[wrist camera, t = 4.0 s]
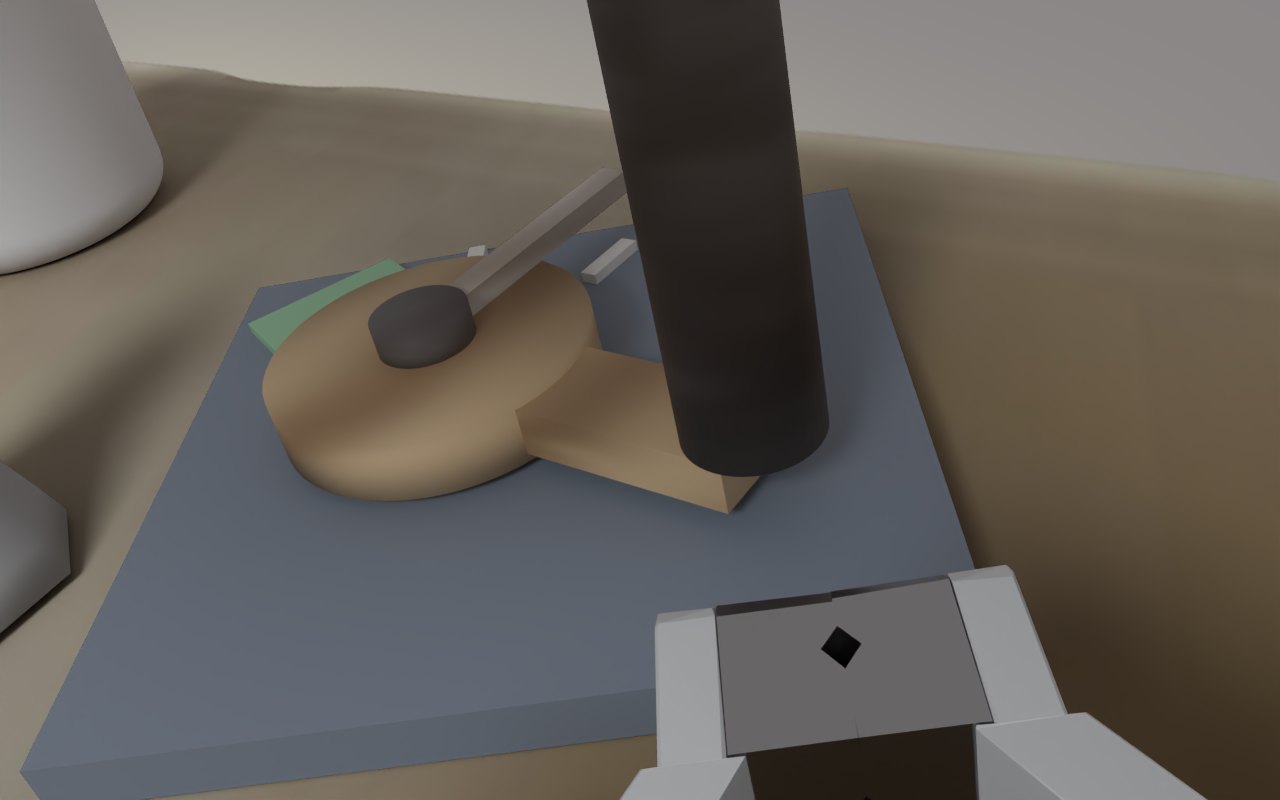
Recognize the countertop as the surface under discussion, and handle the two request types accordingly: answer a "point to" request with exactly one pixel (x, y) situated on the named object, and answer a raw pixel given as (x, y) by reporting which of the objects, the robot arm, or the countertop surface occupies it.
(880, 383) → the board
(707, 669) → the robot arm
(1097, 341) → the countertop surface
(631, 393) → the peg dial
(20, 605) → the flask
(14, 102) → the cup
